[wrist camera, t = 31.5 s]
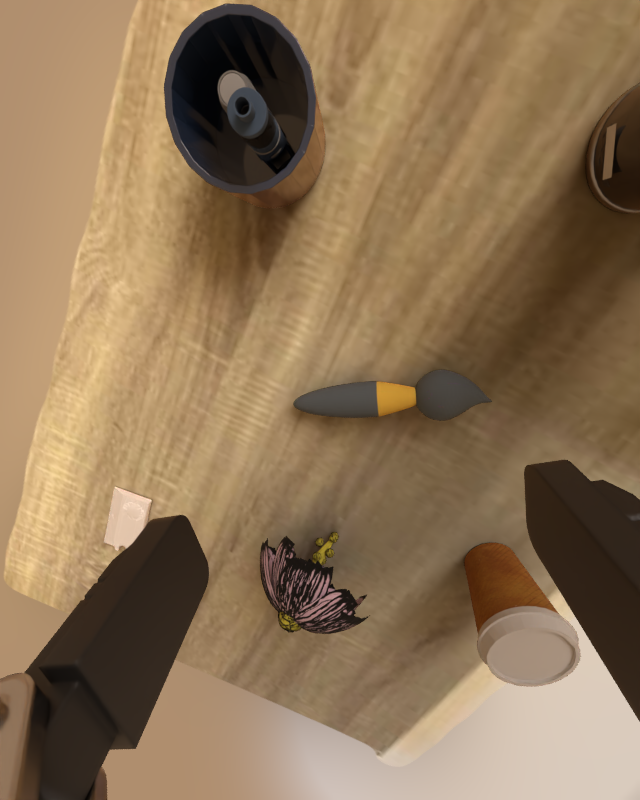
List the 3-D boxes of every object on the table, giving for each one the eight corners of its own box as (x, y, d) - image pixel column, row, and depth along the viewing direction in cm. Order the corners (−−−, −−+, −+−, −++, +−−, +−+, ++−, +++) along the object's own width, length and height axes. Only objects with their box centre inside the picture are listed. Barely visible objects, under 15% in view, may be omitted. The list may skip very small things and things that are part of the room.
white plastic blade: (99, 565, 52) (94, 571, 51) (116, 485, 47) (110, 490, 46) (133, 578, 53) (128, 584, 52) (153, 500, 47) (149, 505, 46)
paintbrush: (302, 429, 42) (296, 451, 37) (292, 389, 40) (284, 406, 35) (483, 400, 39) (501, 420, 34) (480, 355, 37) (499, 370, 32)
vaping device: (278, 182, 32) (239, 144, 21) (239, 125, 31) (176, 52, 20) (301, 161, 31) (273, 110, 20) (263, 102, 30) (210, 12, 19)
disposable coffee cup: (436, 571, 48) (462, 667, 37) (480, 520, 44) (523, 610, 33) (498, 598, 49) (541, 701, 37) (545, 551, 45) (609, 648, 34)
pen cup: (309, 56, 29) (293, -24, 21) (336, 191, 32) (330, 170, 24) (197, 95, 31) (140, 36, 22) (234, 221, 34) (195, 210, 26)
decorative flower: (206, 598, 39) (330, 614, 32) (247, 504, 47) (353, 500, 41) (272, 646, 47) (382, 666, 40) (297, 558, 55) (393, 563, 49)
